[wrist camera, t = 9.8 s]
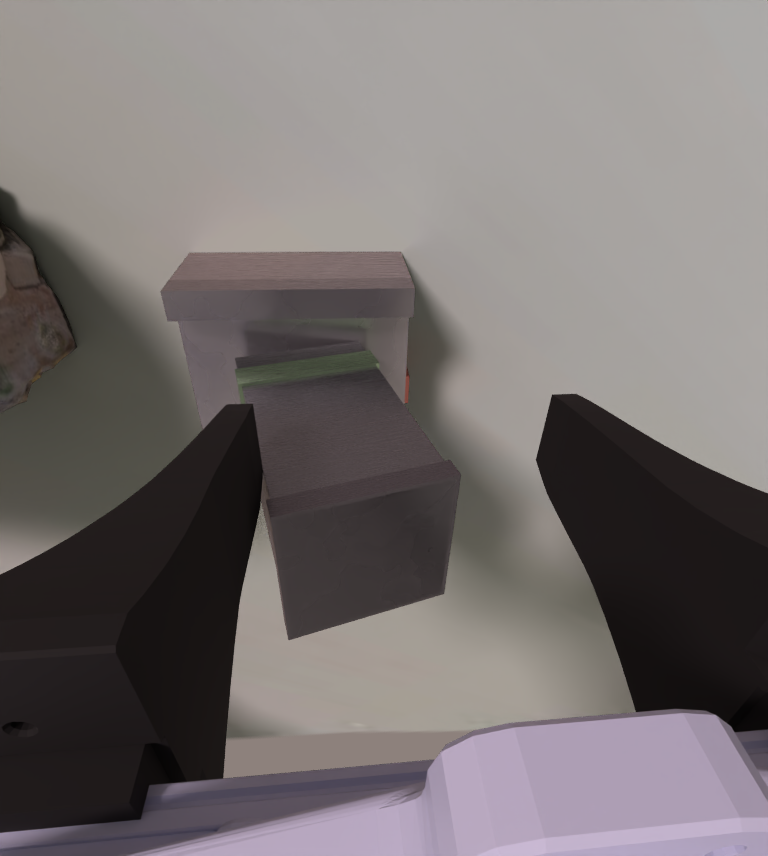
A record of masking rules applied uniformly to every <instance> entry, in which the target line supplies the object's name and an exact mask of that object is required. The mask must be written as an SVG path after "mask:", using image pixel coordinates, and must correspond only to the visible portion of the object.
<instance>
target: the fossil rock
mask: <svg viewBox="0 0 768 856" xmlns="http://www.w3.org/2000/svg"><path fill="white" fill-rule="evenodd" d="M76 347H77V346H76V344H75V341H74V339H73V335H72V331H71V327H70V324H69V322H68V319H67V317H66V315H65V313H64V310H63V308H62V306H61V304H60V302H59V299H58V298H57V297H56V295H55V294H54V293H53V291H52V290H51V288H50V287H49V286H48V284H47V283H46V282H45V280H44V279H43V278H42V276H41V275H40V274H39V271H38V267H37V263H36V258H35V256H34V254H33V252H32V249H31V248H30V247H29V246H28V245H27V244H26V243H25V242H24V241H23V240H22V239H21V238H20V237H19V236H18V235H17V234H16V233H15V232H14V231H13V230H11V229H10V228H8V227H7V226H5V225H4V224H3V223H2V221H1V220H0V413H1V412H3V411H5V410H7V409H9V408H11V407H13V406H15V405H17V404H20V403H23V402H26V401H27V398H28V394H29V391H30V387H31V384H32V383H33V382H35V381H36V380H37V379H39V378H40V377H41V375H42V372H45V371H47V370H50V369H52V368H54V367H55V365H56V364H57V363H58V362H59V361H60V360H62V359H63V358H64V357H65V356H67V355H68V354H69V353H71V352H72V351H73V350H74V349H75V348H76Z"/></svg>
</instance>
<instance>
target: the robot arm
mask: <svg viewBox="0 0 768 856" xmlns="http://www.w3.org/2000/svg"><path fill="white" fill-rule="evenodd" d="M536 461H537V465H538V468H539V471H540V474H541V477H542V480H543V483H544V486H545V489H546V492H547V494H548V496H549V498H550V500H551V502H552V504H553V506H554V508H555V510H556V512H557V514H558V516H559V518H560V520H561V522H562V524H563V526H564V528H565V530H566V532H567V534H568V536H569V538H570V540H571V541H572V543H573V545H574V547H575V549H576V551H577V553H578V555H579V557H580V559H581V561H582V563H583V565H584V567H585V569H586V571H587V573H588V575H589V577H590V580H591V582H592V584H593V587H594V589H595V592H596V595H597V597H598V600H599V602H600V605H601V608H602V610H603V613H604V615H605V618H606V621H607V624H608V627H609V630H610V632H611V635H612V638H613V641H614V644H615V647H616V650H617V652H618V655H619V658H620V661H621V665H622V668H623V671H624V674H625V677H626V681H627V684H628V687H629V690H630V693H631V697H632V700H633V703H634V707H635V710H636V712H633V713H621V714H610V715H598V716H586V717H574V718H562V719H551V720H539V721H527V722H515V723H508V724H503V725H498V726H493V727H488V728H484V729H479V730H474V731H472V732H470V733H468V734H466V735H464V736H462V737H460V738H458V739H456V740H454V741H452V742H450V743H448V744H446V745H445V747H444V748H443V749H442V751H441V752H440V753H439V755H438V756H437V757H436V759H434V760H423V761H412V762H402V763H390V764H379V765H368V766H356V767H345V768H335V769H324V770H313V771H303V772H302V771H301V772H291V773H279V774H269V775H258V776H246V777H234V778H223V773H224V759H225V745H226V732H227V720H228V708H229V697H230V685H231V675H232V665H233V655H234V645H235V636H236V628H237V619H238V610H239V603H240V597H241V591H242V586H243V582H244V577H245V573H246V568H247V564H248V559H249V555H250V550H251V546H252V542H253V537H254V533H255V528H256V524H257V519H258V514H259V510H260V502H261V492H262V479H263V470H262V460H261V453H260V447H259V440H258V434H257V427H256V421H255V414H254V407H253V404H226V405H225V406H224V407H223V408H222V409H221V411H220V412H219V413H218V414H217V415H216V416H215V417H214V418H213V419H212V420H211V421H210V422H209V424H208V425H207V426H206V427H205V428H204V429H203V430H202V431H201V432H200V433H199V434H198V436H197V437H196V438H195V439H194V440H193V441H192V442H191V443H190V444H189V445H188V446H187V447H186V448H185V449H184V450H183V451H182V452H181V453H180V454H179V455H178V456H177V457H176V458H175V459H174V460H173V461H172V462H171V463H170V464H169V465H167V466H166V467H165V468H164V469H163V470H162V471H161V472H160V473H159V474H158V475H157V476H156V477H154V478H153V479H152V480H151V481H150V482H149V483H147V484H146V485H145V486H144V487H142V488H141V489H140V490H139V491H138V492H136V493H135V494H134V495H132V496H131V497H130V498H128V499H127V500H126V501H124V502H123V503H122V504H120V505H119V506H118V507H116V508H115V509H113V510H112V511H110V512H109V513H107V514H106V515H104V516H103V517H101V518H100V519H98V520H97V521H95V522H93V523H92V524H90V525H89V526H87V527H86V528H84V529H83V530H81V531H80V532H78V533H77V534H75V535H73V536H72V537H70V538H68V539H67V540H65V541H63V542H61V543H60V544H58V545H56V546H54V547H53V548H51V549H49V550H47V551H45V552H44V553H42V554H40V555H38V556H36V557H34V558H32V559H30V560H29V561H27V562H25V563H23V564H21V565H19V566H17V567H15V568H13V569H11V570H9V571H7V572H5V573H3V574H1V575H0V856H768V493H765V492H762V491H760V490H757V489H754V488H752V487H750V486H747V485H745V484H742V483H740V482H738V481H735V480H733V479H731V478H729V477H726V476H724V475H722V474H720V473H718V472H715V471H713V470H711V469H709V468H707V467H705V466H703V465H701V464H698V463H696V462H694V461H692V460H690V459H689V458H687V457H685V456H683V455H681V454H679V453H677V452H676V451H674V450H672V449H670V448H668V447H666V446H664V445H663V444H661V443H659V442H657V441H656V440H654V439H652V438H651V437H649V436H647V435H645V434H644V433H642V432H640V431H639V430H637V429H635V428H634V427H632V426H630V425H629V424H627V423H626V422H624V421H622V420H621V419H619V418H617V417H616V416H614V415H612V414H611V413H609V412H608V411H606V410H604V409H603V408H601V407H599V406H598V405H596V404H594V403H592V402H591V401H589V400H587V399H585V398H583V397H581V396H579V395H577V394H559V395H552V397H551V401H550V405H549V409H548V413H547V418H546V422H545V426H544V430H543V434H542V438H541V442H540V446H539V450H538V454H537V458H536Z"/></svg>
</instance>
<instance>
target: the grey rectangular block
mask: <svg viewBox="0 0 768 856" xmlns="http://www.w3.org/2000/svg"><path fill="white" fill-rule="evenodd" d="M235 362H236V368H237V369H235V375H236V381H237V387H238V393H239V399H240V404H253V407H254V414H255V421H256V427H257V434H258V440H259V447H260V453H261V460H262V470H263V479H262V492H261V503H262V507H263V512H264V516H265V520H266V525H267V529H268V533H269V538H270V542H271V547H272V551H273V555H274V560H275V564H276V569H277V575H278V582H279V588H280V595H281V601H282V608H283V614H284V621H285V626H286V630H287V635H288V639H289V640H291V639H294V638H298V637H301V636H304V635H308V634H311V633H314V632H318V631H321V630H324V629H328V628H331V627H334V626H338V625H341V624H344V623H348V622H351V621H355V620H358V619H361V618H365V617H368V616H371V615H375V614H378V613H381V612H385V611H388V610H391V609H395V608H398V607H401V606H405V605H408V604H412V603H415V602H418V601H422V600H425V599H428V598H432V597H435V596H438V595H442V594H444V590H445V583H446V576H447V569H448V562H449V555H450V548H451V541H452V534H453V527H454V520H455V513H456V506H457V499H458V492H459V485H460V478H461V474H460V473H459V471H458V470H457V469H456V467H455V466H454V465H453V463H452V462H451V460H447V461H444V460H443V459H442V457H441V456H440V454H439V453H438V452H437V450H436V449H435V447H434V446H433V445H432V443H431V442H430V440H429V439H428V438H427V436H426V435H425V433H424V432H423V431H422V429H421V428H420V426H419V425H418V424H417V422H416V421H415V419H414V418H413V416H412V415H411V414H410V412H409V411H408V409H407V408H406V407H405V405H404V404H403V402H402V401H401V400H400V398H399V397H398V395H397V394H396V393H395V391H394V390H393V388H392V387H391V386H390V384H389V383H388V381H387V380H386V379H385V377H384V376H383V374H382V373H381V372H380V370H379V366H380V363H379V362H378V360H377V359H376V358H375V356H374V355H373V353H372V352H371V351H370V350H367V351H365V349H364V348H363V346H362V345H361V343H360V342H359V341H356V342H349V343H341V344H334V345H326V346H319V347H311V348H304V349H297V350H289V351H282V352H274V353H267V354H259V355H252V356H244V357H237V358H235Z"/></svg>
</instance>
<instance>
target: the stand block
mask: <svg viewBox="0 0 768 856" xmlns="http://www.w3.org/2000/svg"><path fill="white" fill-rule="evenodd" d="M161 295H162V300H163V304H164V308H165V312H166V316H167V320H168V321H178V323H179V328H180V332H181V336H182V341H183V345H184V350H185V354H186V358H187V363H188V367H189V372H190V376H191V380H192V385H193V389H194V394H195V398H196V402H197V407H198V411H199V416H200V420H201V424H202V429H204V428H205V427H206V426H207V425H208V424H209V422H210V421H211V420H212V419H213V418H214V417H215V416H216V415H217V414H218V413H219V412H220V411H221V409H222V408H223V407H224V406H225V405H226V404H240V399H239V393H238V387H237V381H236V375H235V369H237V368H236V362H235V358H237V357H244V356H252V355H259V354H267V353H274V352H282V351H289V350H297V349H304V348H311V347H319V346H326V345H334V344H341V343H349V342H356V341H359V342H360V343H361V345H362V346H363V348H364V349H365V351H367V350H370V351H371V352H372V353H373V355H374V356H375V358H376V359H377V360H378V362H379V363H380V366H379V370H380V372H381V373H382V374H383V376H384V377H385V379H386V380H387V381H388V383H389V384H390V386H391V387H392V388H393V390H394V391H395V393H396V394H397V395H398V397H399V398H400V400H401V401H402V402H403V404H405V403H408V392H409V373H408V369H407V347H408V327H409V317H414V299H415V287H414V284H413V281H412V279H411V276H410V274H409V271H408V269H407V266H406V264H405V261H404V259H403V256H402V253H401V252H287V253H189V254H188V255H187V257H186V258H185V259H184V261H183V262H182V263H181V265H180V266H179V267H178V268H177V270H176V271H175V272H174V274H173V275H172V276H171V278H170V279H169V280H168V282H167V283H166V284H165V286H164V287H163V288H162V290H161Z"/></svg>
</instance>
